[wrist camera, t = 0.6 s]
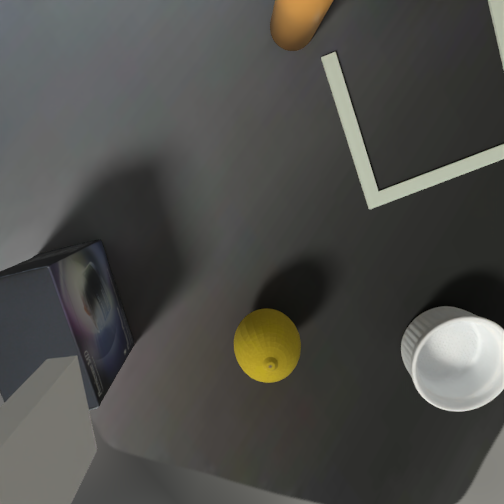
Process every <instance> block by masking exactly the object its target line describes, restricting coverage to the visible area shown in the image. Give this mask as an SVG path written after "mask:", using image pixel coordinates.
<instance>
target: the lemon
mask: <svg viewBox="0 0 504 504" xmlns="http://www.w3.org/2000/svg"><path fill="white" fill-rule="evenodd" d="M300 349H301V343H300V336H299V333H298V331H297V329H296V326H295V325H294V323H293V322H292V321H291V320H290V318H289V317H287V316H286V315H285V314H283V313H282V312H280V311H277V310H274V309H267V308H266V309H259V310H256V311H253V312H251V313H250V314H248V315H247V316H246V317H245V318H244V319H243V320H242V321H241V322H240V324H239V326H238V328H237V330H236V332H235V337H234V352H235V355H236V358H237V361H238V363H239V365H240V366H241V368H242V369H243V371H244V372H245V373H246V374H247V375H249V376H250V377H251V378H253V379H255V380H257V381H261V382H276V381H280V380H282V379H284V378H285V377H287V376H288V375H289V374H290V373H291V372H292V371H293V369H294V368H295V367H296V365H297V362H298V360H299V357H300Z"/></svg>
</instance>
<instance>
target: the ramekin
mask: <svg viewBox="0 0 504 504" xmlns="http://www.w3.org/2000/svg"><path fill="white" fill-rule="evenodd" d="M401 355H402V359H403V362H404V364H405V367H406V369H407V370H408V372H409V373H410V375H411V377H412V379H413V382H414V384H415V387H416V389H417V390H418V392H419V393H420V395H421V396H422V397H423V398H424V399H425V400H426V401H428V402H429V403H430V404H432V405H434V406H436V407H438V408H441V409H444V410H448V411H468V410H472V409H476V408H478V407H481V406H483V405H485V404H487V403H488V402H490V401H491V400H493V399H494V398H495V397H497V396H498V395H499V394H500V393H501V392H502V390H503V389H504V329H503V328H502V327H501V326H500V325H498V324H497V323H495V322H493V321H491V320H489V319H486V318H483V317H479V316H477V315H475V314H473V313H471V312H468V311H465V310H463V309H460V308H456V307H450V306H441V307H436V308H433V309H430V310H427V311H425V312H423V313H422V314H420V315H419V316H417V317H416V318H415V319H414V320H413V321H412V322H411V323H410V325H409V326H408V327H407V329H406V331H405V333H404V335H403V338H402V342H401Z"/></svg>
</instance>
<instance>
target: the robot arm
mask: <svg viewBox="0 0 504 504" xmlns="http://www.w3.org/2000/svg"><path fill="white" fill-rule="evenodd" d="M96 451H97V445H96V441H95V436H94V432H93V427H92V422H91V417H90V413H89V408H88V403H87V399H86V394H85V389H84V385H83V380H82V375H81V371H80V366H79V361H78V357H77V356H69V357H60V358H51V359H47V360H46V361H45V362H44V363H43V364H42V365H41V366H40V367H39V368H38V369H37V370H36V371H35V372H34V373H33V374H32V375H31V376H30V377H29V378H28V379H27V380H26V381H25V382H24V383H23V384H22V385H21V386H20V387H19V388H18V389H17V390H16V391H15V392H14V393H13V394H12V396H11V397H10V398H9V399H8V400H7V401H6V402H5V403H4V404H3V405H2V406H1V407H0V504H71V503H72V500H73V499H74V497H75V495H76V492H77V490H78V488H79V486H80V484H81V482H82V480H83V478H84V476H85V474H86V472H87V470H88V468H89V466H90V464H91V462H92V460H93V458H94V456H95V454H96Z"/></svg>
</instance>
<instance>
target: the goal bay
mask: <svg viewBox="0 0 504 504" xmlns="http://www.w3.org/2000/svg"><path fill="white" fill-rule="evenodd" d="M488 3H489V7H490V12H491V16H492V21H493V25H494V29H495V34H496V38H497V43H498V47H499V51H500V56H501V60H502V65H503V69H504V0H488ZM321 60H322V63H323V66H324V69H325V72H326V75H327V78H328V82H329V85H330V88H331V91H332V94H333V97H334V101H335V104H336V107H337V110H338V113H339V116H340V120H341V123H342V126H343V129H344V132H345V135H346V138H347V142H348V145H349V148H350V151H351V154H352V157H353V161H354V164H355V167H356V170H357V173H358V176H359V180H360V183H361V186H362V189H363V192H364V195H365V199H366V202H367V205H368V208H369V209H372V208H375V207H378V206H380V205H383V204H385V203H388V202H391V201H393V200H396V199H399V198H401V197H404V196H407V195H409V194H412V193H415V192H417V191H420V190H423V189H425V188H428V187H431V186H433V185H436V184H438V183H441V182H444V181H446V180H449V179H452V178H454V177H457V176H460V175H462V174H465V173H468V172H470V171H473V170H476V169H478V168H481V167H484V166H486V165H489V164H491V163H494V162H497V161H499V160H502V159H504V144H502V145H499V146H497V147H494V148H491V149H489V150H486V151H483V152H481V153H478V154H475V155H473V156H470V157H468V158H465V159H462V160H460V161H457V162H454V163H452V164H449V165H446V166H444V167H441V168H439V169H436V170H433V171H431V172H428V173H425V174H423V175H420V176H417V177H415V178H412V179H410V180H407V181H404V182H402V183H399V184H396V185H394V186H391V187H388V188H386V189H383V190H380V191H378V188H377V185H376V182H375V178H374V175H373V172H372V169H371V165H370V162H369V159H368V156H367V152H366V149H365V146H364V143H363V139H362V136H361V133H360V130H359V126H358V123H357V120H356V117H355V113H354V110H353V107H352V104H351V100H350V97H349V94H348V91H347V87H346V84H345V81H344V78H343V75H342V71H341V68H340V65H339V62H338V58H337V55H336V52H333V53H331V54H328V55H326V56H323V57H321Z"/></svg>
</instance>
